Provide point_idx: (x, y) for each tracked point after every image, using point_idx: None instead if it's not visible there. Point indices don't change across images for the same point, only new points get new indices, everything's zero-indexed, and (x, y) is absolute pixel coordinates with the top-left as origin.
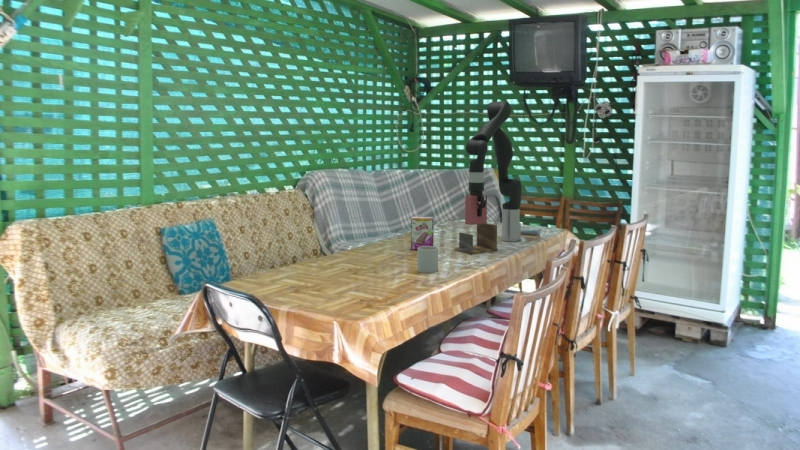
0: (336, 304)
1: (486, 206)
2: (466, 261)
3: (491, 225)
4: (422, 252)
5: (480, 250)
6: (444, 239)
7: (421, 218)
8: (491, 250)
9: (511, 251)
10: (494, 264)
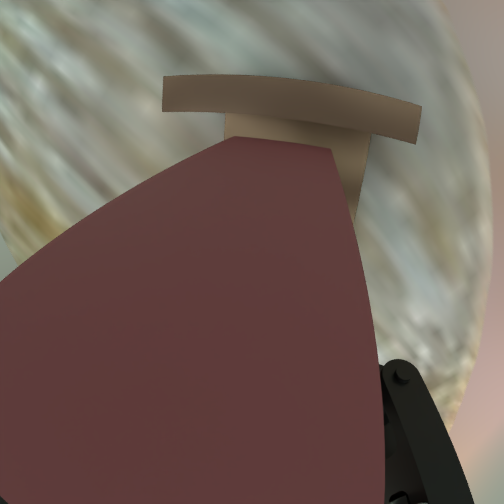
0: None
1: (348, 229)
2: (396, 346)
3: (381, 135)
4: None
5: (347, 202)
6: (31, 105)
7: None
8: (369, 139)
9: (426, 64)
10: (483, 322)
